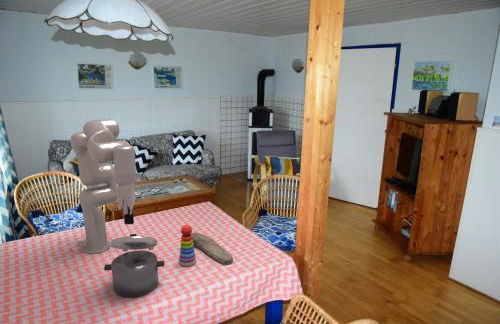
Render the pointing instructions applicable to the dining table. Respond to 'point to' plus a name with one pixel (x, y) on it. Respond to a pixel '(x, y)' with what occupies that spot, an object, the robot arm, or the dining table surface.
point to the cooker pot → (134, 273)
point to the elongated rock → (211, 248)
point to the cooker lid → (133, 242)
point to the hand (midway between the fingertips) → (129, 223)
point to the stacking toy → (187, 247)
